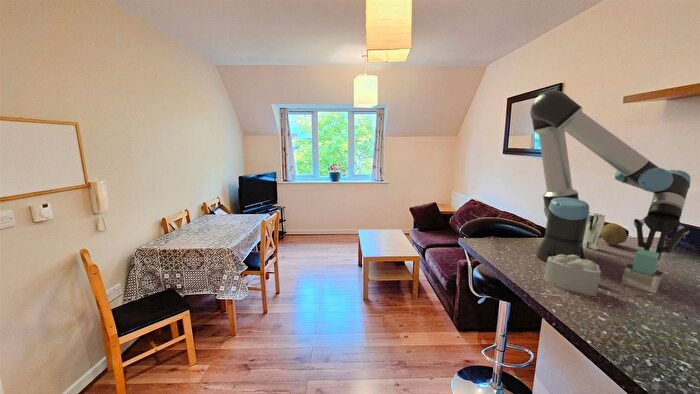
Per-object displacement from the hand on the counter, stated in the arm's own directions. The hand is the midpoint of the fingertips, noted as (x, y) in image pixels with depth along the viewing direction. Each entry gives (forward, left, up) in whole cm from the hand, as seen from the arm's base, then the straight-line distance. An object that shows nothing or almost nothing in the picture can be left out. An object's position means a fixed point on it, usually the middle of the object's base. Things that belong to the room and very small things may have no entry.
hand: (647, 266), depth 90 cm
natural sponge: (+11, +43, -6) cm, 45 cm away
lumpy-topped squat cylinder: (-24, -9, -6) cm, 26 cm away
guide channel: (-2, -2, -6) cm, 6 cm away
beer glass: (-1, +34, -6) cm, 35 cm away
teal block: (-3, -3, -5) cm, 6 cm away
